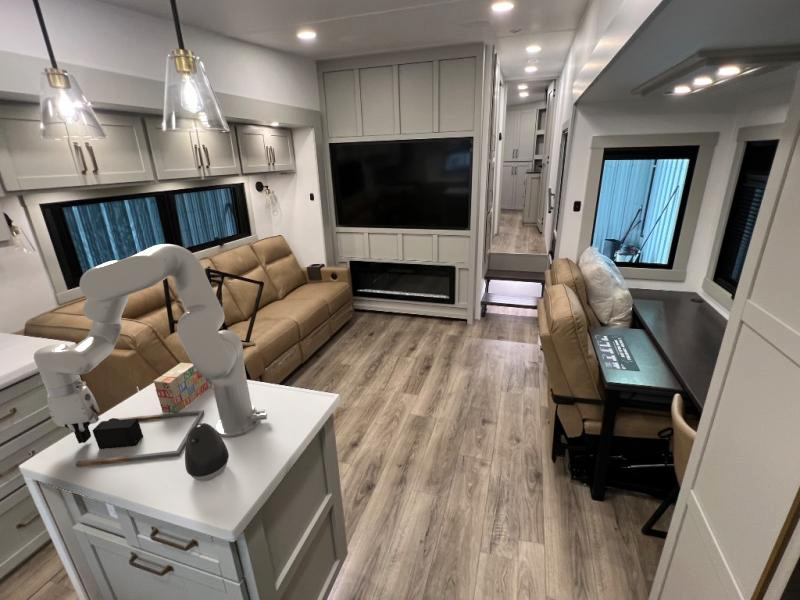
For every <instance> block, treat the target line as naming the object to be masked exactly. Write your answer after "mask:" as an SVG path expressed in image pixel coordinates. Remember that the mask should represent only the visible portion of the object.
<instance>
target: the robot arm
mask: <svg viewBox="0 0 800 600" xmlns="http://www.w3.org/2000/svg"><path fill="white" fill-rule="evenodd" d="M169 277H170V278H172V280H173V282H174V287H175V291H176V294H177V296H178V297H179V299H180V302H181V304H182V307H183V308H184V313H183V314H182V315H181V316H180V318H179V320H178V321H177V323H176V324H177V325H176V326H177V327H176V330H177V335H178V339H179V341H180V343H181V345H182V347H183V348H184V351H185V353H186V354H187V357H188V358H189V360H190V361H191V364H193V366H194V367H195V369H196V370H197V372H198V373H199V374H200V375H201V376H203V377H204V378H207V379H210V380H211V381H212V389H213V393H214V398H215V402H216V407H217V411H218V416H219V420H218V421H217V424H216V426H215V428H216V429H215V430H216V431H217V432H218V434H219V435H220V436H221V437H223V438H235V437H238V436H240V437H241V436H243V435H245V434H247V433H249V432H251V431H252V430H254V429H255V428H256V427H257V426H258V425H259V423H260V421H261V420H262V421H264V420H267V419H268V413H267V412H266V410H265V409H256V407H255V405H252V400H251V396H250V390H249V384H248V379H247V374H246V369H245V359H244V348H243V342H242V340H241V338H240V337H239V335H238V334H237V333H235V332H234V331H231V330H229V329H222V330H220V329H221V327H222V325H223V324H224V322H225V318H226V317H225V311H224V309H223V307H222V305H221V303H220V301H219V299H218V296H217V294H216V293H215V290H214V288H213V287H212V285H211V283H210V280H209V278H208V276H207V273H206V272H205V269H204V267H203V265H202V264H201V262H200V260H199V259H198V257H197V256H196V254H194V253H193V252H192V251H190V250H189V249H187V248H185V247H182V246H180V245H177V244H171V243H163V244H161V243H160V244H156V245H153V246H150V247H148V248H146V249H145V250H142V251H140V252H138V253H135V254H134V255H131V256H128V257H126V258H122V259H119V260H109V261H105V262H104V263H100V264H98V265H97V266H94V267H92V268H89V269H88V270H87V271H85V272H84V273H83V274H82V275H81V277H80V279H79V288H80V291H81V293H82V295H83V296H84V297H85V298H86V299H85V302H84V305H83V306H82V314H83V315H84V316H85V317H86V318H87V319H88V320H91V321H92V324H91V327H90V329H89V331H88V334H87V336H86V337H85V338H84V339H83V340H81V341H79V342H78V343H77V344H75V345H74V346H72V347H70V346H68V345H67V344H64V343H55V344H51V345H47V346H44V347H40V349H37V350H36V351H35V353H34V354H33V360H34V362H35V365H36V367H37V370H38V372H39V374H40V377H41V380H42V382H43V385H44V387H45V390H46V392H47V395H46V397H47V398H46V399H47V406H48V410H49V413H50V416H51V418H52V421H53V423H54V424H56V426H57V427H64V428H67V429H68V430H69V431H70V432H71V433H73V434H74V435H75V438H76V440H77V442H78V444H85V443H86V442H88V440H90V439H91V437H92V434H91V430H90V427H89V426H90V425H93V424H96V423H97V422H99V420H100V418H99V416H98V415H97V414H99V413H100V408H99V405H98V403H97V401H96V398H95V395H94V394H93V393H92V391H91V390H90V389H89V387H88V386H87V383H86V381H85V380H84V381H83V380H82V379H81V375H84V374H88V373H90V372H91V371H92V370H93V369H94V368H96V367H97V366H98V365H99V364H100V363H102V361H104V360H105V359H106V358H107V357H109V356H110V355H111V354H112V352H113V351H114V349H115V348H116V347H115V346H116V344H117V342H118V340H119V338H120V335H121V333H122V329H123V328H122V326H123V321H122V315H123V313H124V311H125V309H126V306H127V303H128V301H129V298H130V296H131V295H132V294H135V293H138V292H142V291H144V290H147V289H150V288H152V287H155V286H156V285H159V284H160V283H162V282H163V281H164V280H166V279H168V278H169Z"/></svg>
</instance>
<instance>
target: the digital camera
mask: <svg viewBox="0 0 800 600" xmlns="http://www.w3.org/2000/svg"><path fill="white" fill-rule="evenodd" d="M91 432H92V434H93V436H94V439H95V442H96V443H97V446H98V450H108V449H119V448H131V447H137V446H138V444H139V443H140V442H141V441H142V439H143V438H144V435H143V434H144V433H143V431H142V428H141V425H140V421H138V418H133V419H122V420H119V419H117V418H115V417H114V418H109V419H108V420H102V421H100V422H99V423H98V424H97V425H96V426H95V427H94V428H93V429H92V431H91Z"/></svg>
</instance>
